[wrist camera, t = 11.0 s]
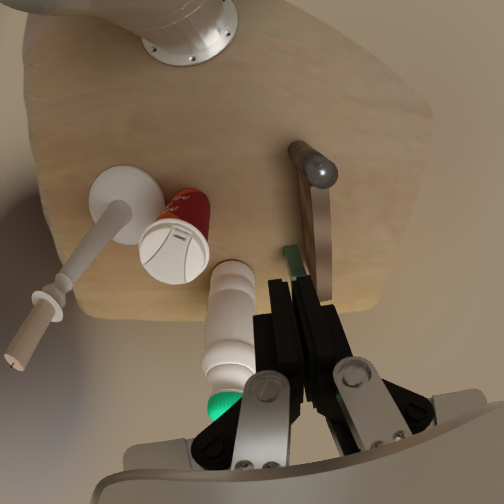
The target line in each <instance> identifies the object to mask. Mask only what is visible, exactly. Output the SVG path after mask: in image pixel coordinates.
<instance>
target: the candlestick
mask: <svg viewBox="0 0 504 504" xmlns="http://www.w3.org/2000/svg"><path fill="white" fill-rule="evenodd" d="M165 208H166V204H165V199H164V195H163V192H162V190H161V188H160V186H159V185H158V183H157V182H156V181H155V179H154V178H153V177H152V176H151V175H149V174H148V173H147V172H145V171H144V170H142V169H140V168H137V167H134V166H130V165H118V166H114V167H111V168H109V169H107V170H105V171H104V172H102V173H101V174H100V175H99V176H98V177H97V178H96V180H95V181H94V183H93V185H92V187H91V190H90V193H89V209H90V214H91V216H92V219H93V221H94V223H95V225H94V226H93V227H92V228H91V230H90V231H89V232H88V233H87V235H86V236H85V237H84V239H83V240H82V241H81V243H80V244H79V245H78V247H77V248H76V249H75V251H74V252H73V253H72V255H71V256H70V258H69V259H68V260H67V262H66V263H65V265H64V266H63V268H62V269H61V270H60V272H59V273H58V274H57V275H56V277H55V282H54V283H52V284H51V285H50V284H49V285H46V286H44V288H43V290H42V291H35V292H34V293H33V294H32V302H33V305H34V308H33V310H32V311H31V312H30V314H29V315H28V317H27V318H26V320H25V321H24V323H23V325H22V326H21V328H20V329H19V331H18V332H17V334H16V336H15V337H14V339H13V341H12V342H11V344H10V346H9V347H8V349H7V351H6V353H5V355H4V356H5V358H6V360H7V361H8V363H9V364H11V368H12V366H13V367H14V368H16V369H17V370H19V371H24V369H25V367H26V365H27V363H28V361H29V359H30V357H31V355H32V353H33V351H34V350H35V347H36V346H37V344H38V342H39V340H40V338H41V337H42V335H43V333H44V332H45V330H46V328H47V326H48V325H49V323H50V321H52V322H59V321H61V320H62V318H63V312H62V308H63V307H64V305H65V294H66V292H67V291H70V290H71V289H72V288H73V286H74V284H75V283H76V282H77V280H78V279H79V278H80V277H81V275H82V274H83V273H84V272H85V270H86V269H87V268H88V267H89V266H90V264H91V263H92V262H93V261H94V260H95V258H96V257H97V256H98V255H99V254H100V252H101V251H102V250H103V249H104V248H105V247H106V246H107V244H108V243H109V242H110V241H111V240H113V241H115V242H118V243H121V244H125V245H136V244H139V240H140V237H141V235H142V233H143V231H144V230H145V229H146V228H147V227H148V226H149V225H150V224H152V223H153V222H154V221H155V220H156V219H157V218H158V216H159V215H160V214H161V213H162V211H163V210H164V209H165Z"/></svg>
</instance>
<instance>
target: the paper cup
mask: <svg viewBox="0 0 504 504" xmlns="http://www.w3.org/2000/svg"><path fill="white" fill-rule="evenodd" d="M209 220H210V203H209V200H208V198H207V197H206V195H205V194H204V193H203V192H201V191H199V190H197V189H185V190H182V191H180V192H179V193H178V194H177V195H176V196H175V197H174V198H173V199H172V200H171V201H170V203H169V204H168V205H167V206H166V208H165V209H164V210H163V211H162V213H161V214H160V215H159V216H158V218H157V219H156V220H155V221H154V222H153V223H152V224H150V225H149V226H148V227H147V228H146V229H145V230H144V231H143V233H142V235H141V237H140V240H139V254H140V260H141V263H142V265H143V266H144V268H145V269H146V270H147V272H148V273H149V274H150V275H151V276H152V277H154V278H155V279H157V280H159V281H161V282H164V283H167V284H174V285H176V284H184V283H188V282H190V281H192V280H194V279H195V278H196V277H197V276H198V275H200V274H201V273H202V272H203V271H204V269H205V268H206V266H207V263H208V260H209V247H208V244H207V242H208V231H209Z"/></svg>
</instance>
